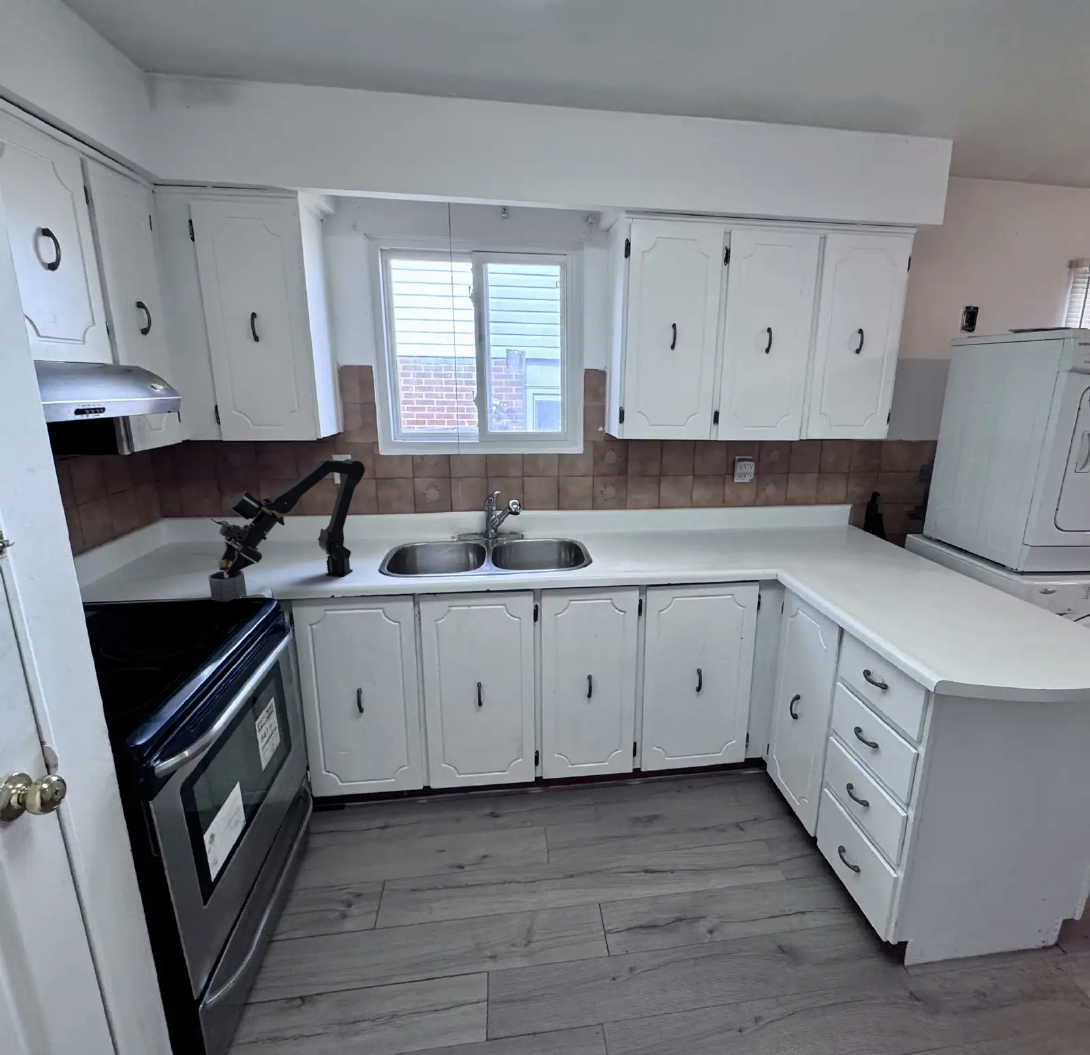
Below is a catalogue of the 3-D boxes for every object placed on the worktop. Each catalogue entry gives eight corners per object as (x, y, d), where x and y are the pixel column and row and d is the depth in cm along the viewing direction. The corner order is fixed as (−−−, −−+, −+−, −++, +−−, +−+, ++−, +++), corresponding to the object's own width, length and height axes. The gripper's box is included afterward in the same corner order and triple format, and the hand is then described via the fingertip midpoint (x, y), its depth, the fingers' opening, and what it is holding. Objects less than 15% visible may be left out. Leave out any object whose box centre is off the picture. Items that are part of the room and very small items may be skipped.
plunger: (246, 591, 169) (242, 558, 166) (230, 599, 163) (225, 565, 160) (227, 589, 170) (223, 556, 168) (210, 597, 164) (205, 563, 161)
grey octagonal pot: (253, 592, 170) (250, 571, 168) (231, 603, 161) (228, 581, 160) (227, 590, 172) (224, 568, 170) (204, 601, 163) (200, 578, 161)
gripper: (227, 507, 170) (191, 548, 166) (244, 518, 157) (205, 564, 152) (258, 528, 177) (225, 568, 173) (277, 540, 164) (241, 584, 159)
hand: (223, 570), depth 164 cm, fingers open, 9 cm apart
